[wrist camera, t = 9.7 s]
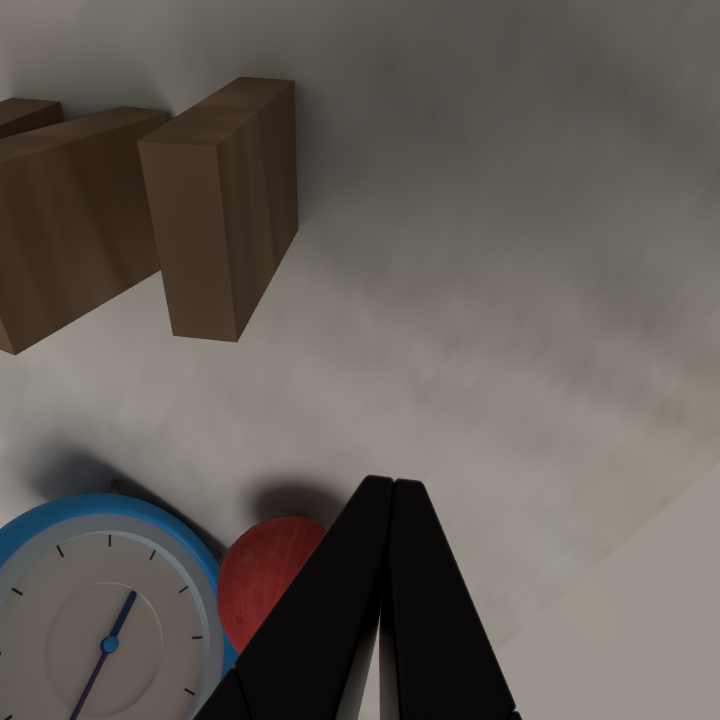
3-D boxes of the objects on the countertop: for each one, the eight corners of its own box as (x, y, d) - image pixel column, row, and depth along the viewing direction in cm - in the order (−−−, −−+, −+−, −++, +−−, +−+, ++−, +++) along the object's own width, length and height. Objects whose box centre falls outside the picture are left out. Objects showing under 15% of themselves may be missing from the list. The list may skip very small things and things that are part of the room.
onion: (349, 475, 26) (315, 650, 20) (371, 555, 29) (349, 728, 23) (229, 480, 27) (160, 645, 21) (263, 556, 30) (213, 720, 24)
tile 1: (293, 80, 17) (216, 146, 11) (298, 230, 19) (237, 342, 14) (239, 76, 17) (136, 140, 11) (251, 226, 20) (172, 335, 14)
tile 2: (165, 113, 17) (-54, 178, 12) (186, 254, 20) (15, 355, 15) (123, 106, 18) (-103, 165, 13) (150, 244, 20) (-28, 339, 15)
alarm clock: (274, 578, 31) (163, 972, 19) (205, 610, 34) (71, 970, 22) (70, 432, 27) (-244, 833, 15) (11, 484, 30) (-293, 854, 18)
